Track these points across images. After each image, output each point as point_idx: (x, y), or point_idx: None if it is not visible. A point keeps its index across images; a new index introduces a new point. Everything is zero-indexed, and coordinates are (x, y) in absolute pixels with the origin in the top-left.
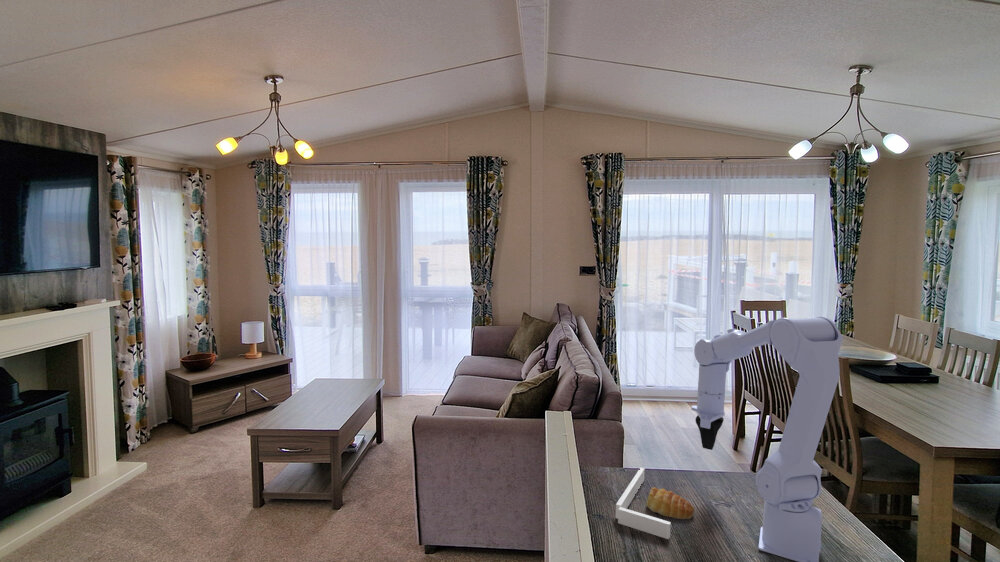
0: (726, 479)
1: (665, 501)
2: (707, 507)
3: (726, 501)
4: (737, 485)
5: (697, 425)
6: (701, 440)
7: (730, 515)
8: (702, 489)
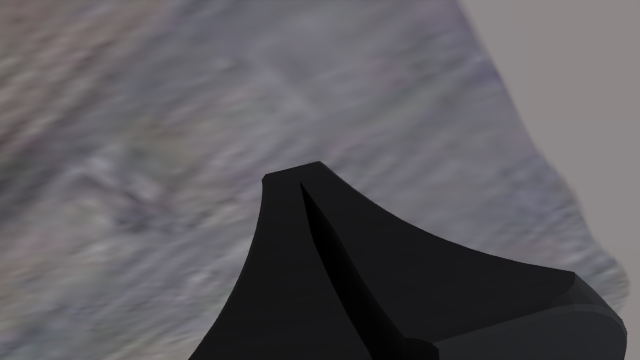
0: (421, 116)
1: None
2: (7, 164)
3: (168, 203)
4: (386, 177)
5: (191, 355)
6: (264, 207)
7: (41, 265)
8: (198, 63)
